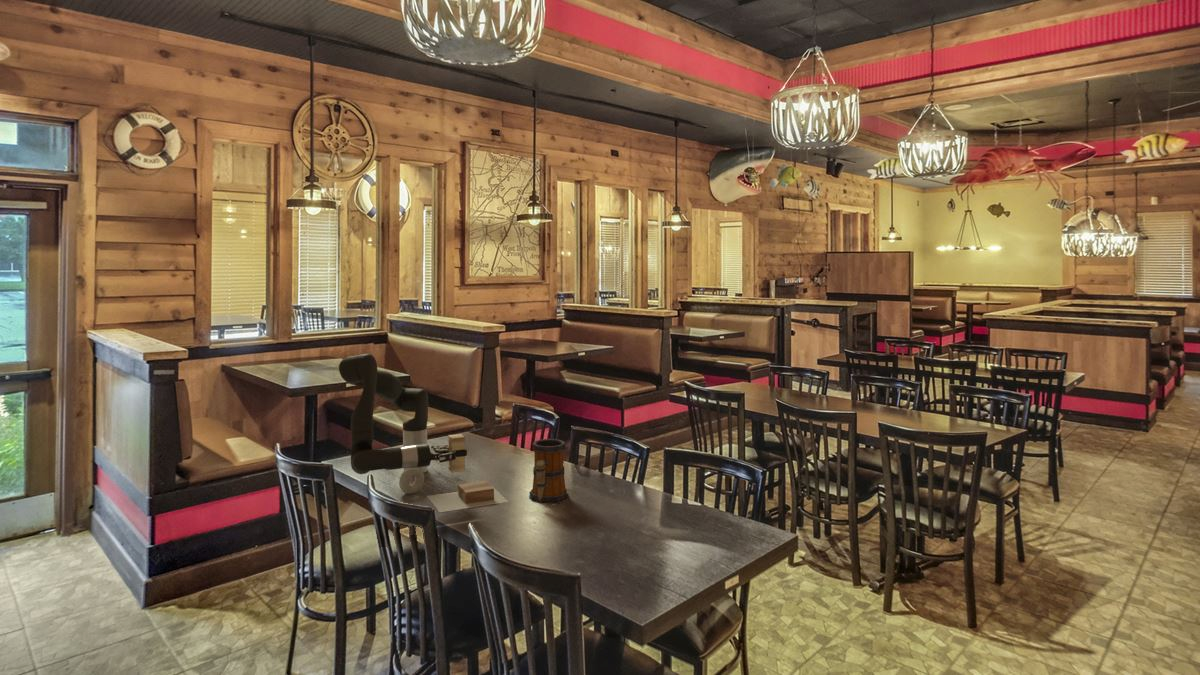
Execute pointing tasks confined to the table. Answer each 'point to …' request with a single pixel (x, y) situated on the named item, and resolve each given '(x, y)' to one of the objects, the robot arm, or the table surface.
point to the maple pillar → (457, 444)
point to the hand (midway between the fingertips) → (464, 450)
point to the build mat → (460, 501)
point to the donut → (406, 477)
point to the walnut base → (475, 492)
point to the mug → (548, 472)
